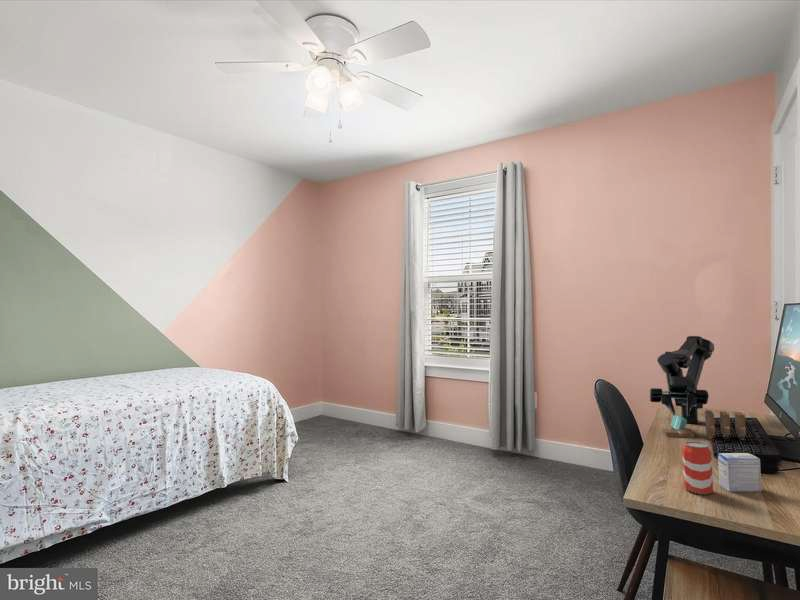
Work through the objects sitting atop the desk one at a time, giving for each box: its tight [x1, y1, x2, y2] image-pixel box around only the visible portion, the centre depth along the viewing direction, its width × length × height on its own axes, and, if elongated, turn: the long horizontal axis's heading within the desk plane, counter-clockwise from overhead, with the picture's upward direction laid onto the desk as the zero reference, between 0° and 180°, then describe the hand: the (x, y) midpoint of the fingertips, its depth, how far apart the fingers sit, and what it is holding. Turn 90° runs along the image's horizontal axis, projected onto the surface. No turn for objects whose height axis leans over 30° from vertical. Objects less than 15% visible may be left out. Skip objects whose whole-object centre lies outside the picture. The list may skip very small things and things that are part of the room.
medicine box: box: [717, 452, 762, 492], centre depth 119 cm, size 8×4×9 cm, turn 84°
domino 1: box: [661, 428, 695, 439], centre depth 169 cm, size 2×5×9 cm
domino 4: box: [734, 411, 747, 437], centre depth 162 cm, size 2×5×9 cm, turn 156°
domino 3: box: [719, 410, 731, 436], centre depth 164 cm, size 2×5×9 cm, turn 156°
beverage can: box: [681, 440, 714, 495], centre depth 119 cm, size 6×6×12 cm
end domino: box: [670, 413, 688, 430], centre depth 176 cm, size 2×5×9 cm
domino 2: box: [704, 410, 716, 440], centre depth 166 cm, size 2×5×9 cm, turn 156°
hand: (681, 415), depth 168 cm, fingers open, 4 cm apart
